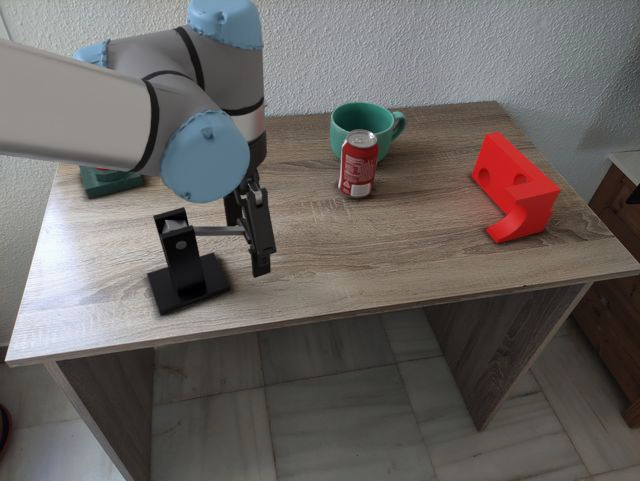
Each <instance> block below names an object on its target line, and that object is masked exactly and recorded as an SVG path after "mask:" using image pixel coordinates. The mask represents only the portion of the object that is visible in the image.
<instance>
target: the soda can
mask: <svg viewBox="0 0 640 481" xmlns="http://www.w3.org/2000/svg"><path fill="white" fill-rule="evenodd" d="M378 153H379V145H378V143H377V137H376V136H375V135H374V134H373V133H372V132H370V131H367V130H353V131H351V132H349V133H348V134H347V136H346V139H345V140H344V141H343V143H342V151H341V160H340V163H339V174H338V184H337V186H338V190H339V191H340V193H341V194H342V195H344V196H346V197H348V198H352V199H362V198H366V197H367V196H369V195H370V194H371V193H372V192H373V189H374V184H375V183H374V182H375V177H376V172H377V171H376V170H377V165H378V162H377V159H378Z"/></svg>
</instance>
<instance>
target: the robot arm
mask: <svg viewBox="0 0 640 481" xmlns="http://www.w3.org/2000/svg"><path fill="white" fill-rule="evenodd" d="M186 12H187V17H186V22H187V24H185V25H178V26H177V27H175V28H170V29H165V30H159V31H154V32H149V33H143V34H138V35H132V36H126V37H121V38H116V39H111V38H107V39H105V40H103V41H101V42H98V43H92V44H91V45H90V44H89V45H87V46H82V47H79V48H78V49H76V50H75V51H74V52H73V54H72V57H69V56H67V55H62V54H59V53H56V52H53V51H50V50H49V51H48V50H45V49H43V48H39V47H34V46H31V45H29V44H28V45H27V44H23V43H20V42H17V41H14V40H11V39H7V38H3V37H0V156H6V157H13V158H19V159H20V158H21V159H28V160H36V161H43V162H52V163H58V164H59V163H60V164H66V165H72V166H73V165H74V166H79V165H81V166H88V167H96V168H103V169H111V170H118V171H125V172H132V173H137V174H140V175H143V176H144V175H145V176H150V177H158V178H161V181H162V182H163V184H164V185H165V187H166V188H167V189H169V190H171V191H172V192H173V193H174V194H175V195H176V196H177V197H178V198H180V199H182V200H184V201H185V202H189V203H193V204H207V203H212V202H215V201H219V200H220V199H222V201H223V208H224V216H225V223H226V226H238V225H237V223H236V221H237V219H238V218H240V217H243V218H245V220H246V224H247V228H248V232H249V235H250V239H251V243H252V245H249V248H248V249H247V252H248V253H249V254H250V261H251V263H250V264H251V272H252V277H253V278H254V279H257V278H260V277H263V276H265V275H268V274H270V273H272V266H271V265H272V264H271V255H273V254H276V253H277V251H278V249H277V244H276V240H275V234H274V229H273V228H274V227H273V223H272V217H271V213H270V207H269V192H268V189H267V188H266V187H261V184H260V180H261V178H260V173H259V170H258V167H260V165H262V163H263V162H264V161H265V160H266V159H267V158H266V157H267V155H268V141H267V131H266V110H265V108H267V107H268V106H269V102H268V100H267V99H265V82H264V81H265V80H264V54H263V50H264V44H265V43H264V41H263V32H262V23H261V17H260V12H259V9H258V7H257V6H256V4H255V3H254V2H253V1H252V0H191V1H190V2H189V3H188V5H187V11H186ZM242 196H246V197H245V198H242Z"/></svg>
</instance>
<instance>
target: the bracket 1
mask: <svg viewBox="0 0 640 481" xmlns="http://www.w3.org/2000/svg"><path fill="white" fill-rule="evenodd" d="M152 217H153V218H152V219H153V221H154V225H155V227H156V231H157V234H158V238H159V241H160V244H161V245H160V246H161V249H162V252H163V256H164V259H165V261H166V265H167V266H165V267H162V268H159V269H157V270H153V271H150V272H147V273H146V277H147V279H148V282H149V285H150V288H151V292H152V295H153V298H154V301H155V304H156V307H157V310H158V313H159V315H160V316H164V315H167V314H170V313H173V312H175V311H179V310H181V309H183V308H187V307H189V306H192V305H195V304H198V303H201V302H203V301H206V300H209V299H213V298H215V297H217V296H221V295H223V294H226V293H229V292H231V285H230V284H229V282H228V280H227V279H228V278H226V275H225V273H224V271H223V269H222V267H221V264H220V262H219V261H218V258H217V256H216V254H215V252H214V251H212V252H210V253H206V254H203V255H201V254H200V250H199V245H198V241H197V236H195V231H194V228H193V224H191V225H190V222H189V218H188V214H187V210H186V208H185V207H184V206H183V207H179V208H175V209H172V210H168V211H165V212H161V213H157V214H154V215H152ZM165 220H185V222H186V224H187V227H183V228H180V229H176V230H173V231H170V232H166V233H163V234H162V232H163V228H164V224H165Z"/></svg>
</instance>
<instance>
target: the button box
mask: <svg viewBox="0 0 640 481" xmlns="http://www.w3.org/2000/svg"><path fill="white" fill-rule="evenodd" d="M78 168H79V172H80V175H81V180H82V184H83V187H84V190H85V194H86V195H87V198H88V199H93V198H97V197H100V196H105V195H108V194H113V193H116V192H120V191H124V190H128V189H133V188H136V187H139V186H143V185H144V182H143V178H142V174H137V173H132V172H125V171H118V170H111V169H110V170H106V171H104V170H99V169H97V168H96V167H88V166H81V165H78Z"/></svg>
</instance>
